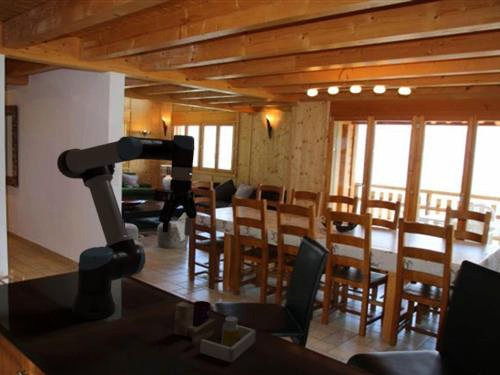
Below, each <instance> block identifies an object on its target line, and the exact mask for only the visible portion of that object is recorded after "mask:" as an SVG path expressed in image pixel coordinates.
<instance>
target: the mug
mask: <svg viewBox="0 0 500 375" xmlns="http://www.w3.org/2000/svg"><path fill="white" fill-rule="evenodd" d="M187 303H188V304H192V305H194V314H193V325H194V326H200V325H202V324H204V323H205V322H207V321H208V320H210V319H211V310H212V304H211V303H210V302H209V301H208V300H207V301H205V300H197V301H194V302H192V301H188V302H187Z"/></svg>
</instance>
